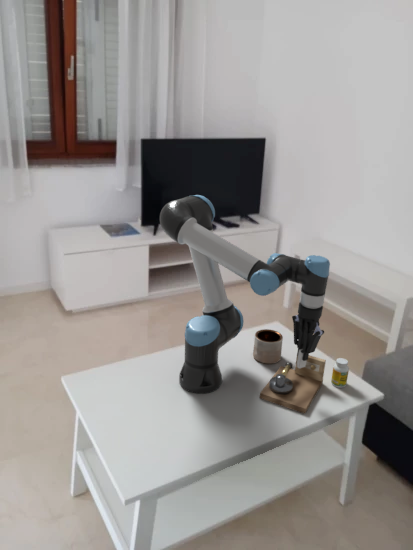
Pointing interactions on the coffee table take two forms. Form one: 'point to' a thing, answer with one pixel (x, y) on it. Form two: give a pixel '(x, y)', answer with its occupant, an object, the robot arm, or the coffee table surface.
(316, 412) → the coffee table surface
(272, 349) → the planter
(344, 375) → the supplement bottle
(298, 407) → the stand
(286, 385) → the ball knob lever
